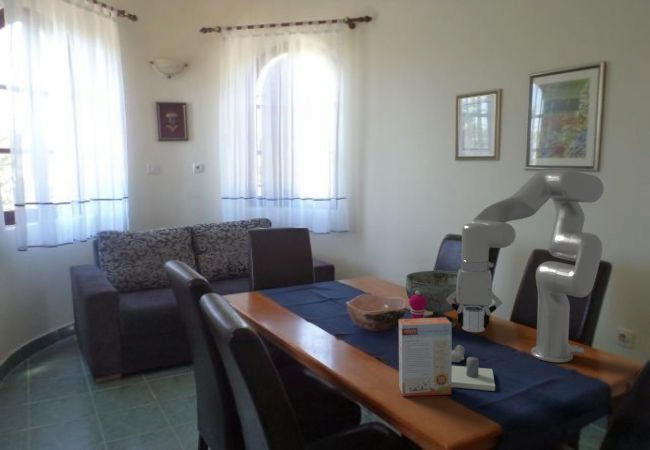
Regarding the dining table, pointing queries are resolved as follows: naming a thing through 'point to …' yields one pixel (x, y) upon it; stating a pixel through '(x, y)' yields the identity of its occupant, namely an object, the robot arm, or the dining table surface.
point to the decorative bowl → (434, 291)
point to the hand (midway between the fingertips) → (473, 325)
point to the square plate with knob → (472, 376)
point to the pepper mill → (417, 305)
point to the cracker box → (425, 356)
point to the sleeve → (473, 318)
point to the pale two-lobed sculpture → (458, 354)
